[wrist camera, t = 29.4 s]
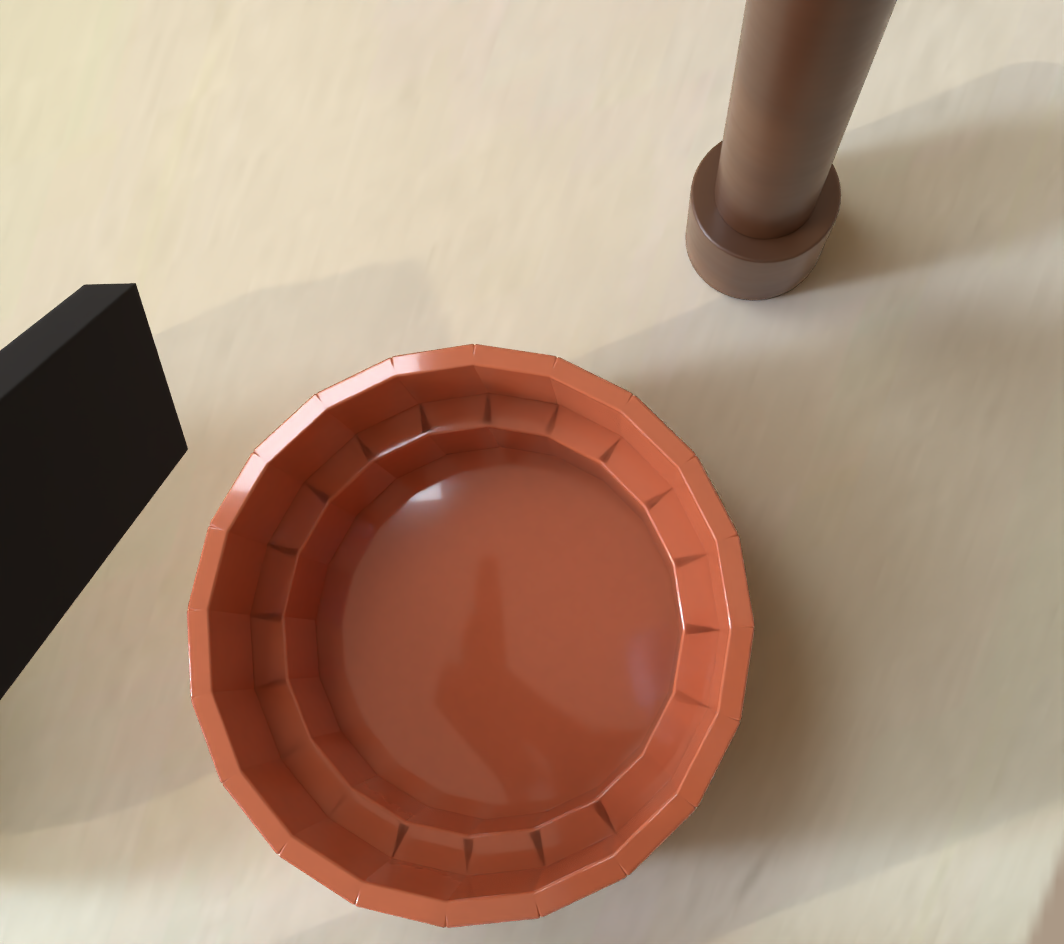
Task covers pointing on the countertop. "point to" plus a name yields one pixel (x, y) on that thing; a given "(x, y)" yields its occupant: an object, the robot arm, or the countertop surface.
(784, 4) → the brown pestle
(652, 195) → the countertop surface
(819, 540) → the countertop surface
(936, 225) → the countertop surface
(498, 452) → the bowl
